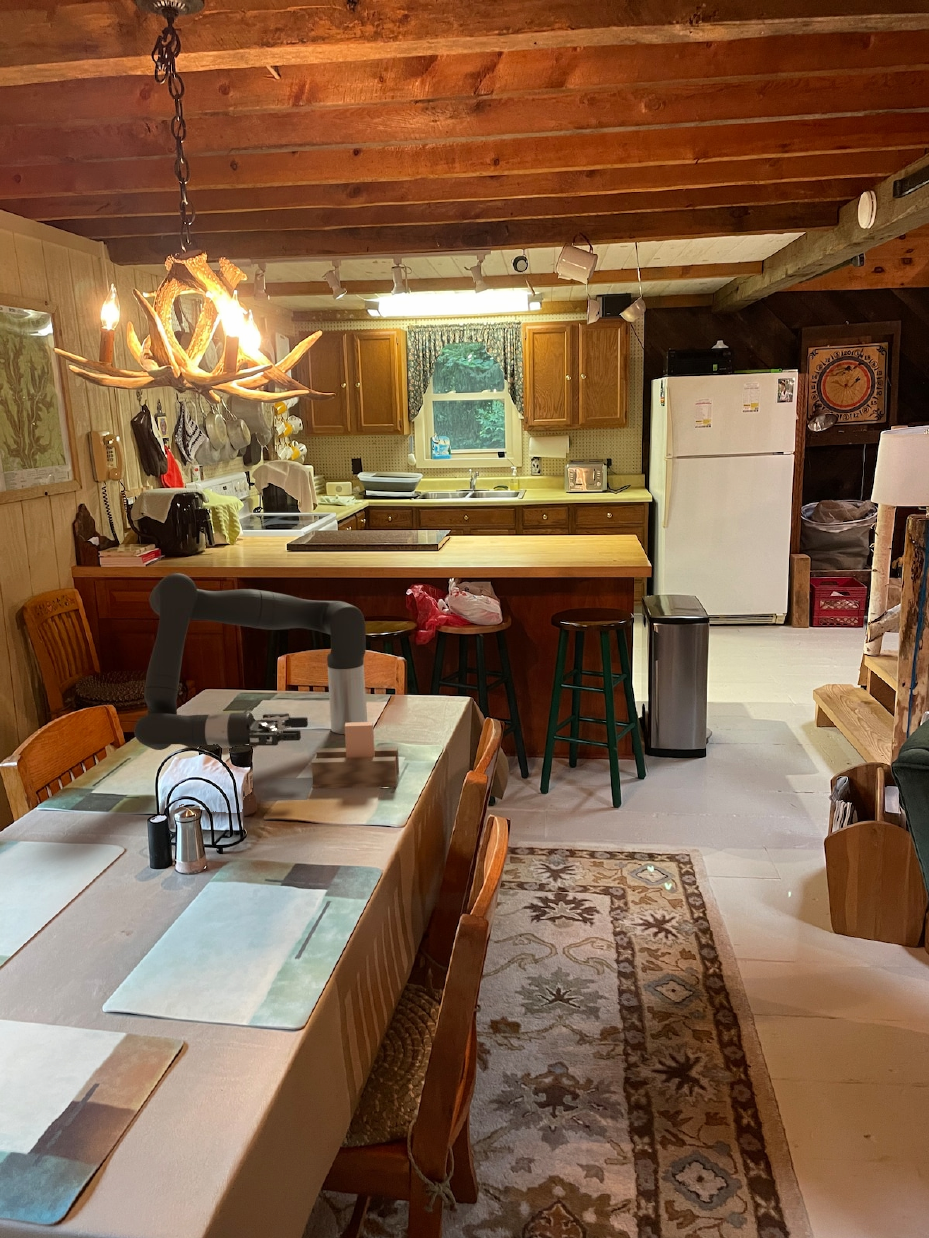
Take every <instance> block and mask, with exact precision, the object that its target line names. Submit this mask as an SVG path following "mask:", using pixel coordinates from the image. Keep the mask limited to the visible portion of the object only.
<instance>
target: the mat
mask: <svg viewBox="0 0 929 1238" xmlns="http://www.w3.org/2000/svg"><path fill="white" fill-rule="evenodd" d="M312 789H313V777H279V778H278V777H277V778H275V777H273V778H270V781H269V783H268V784H267V785H266V787H265V789H264V791H263V793H262V795H261V797H260V799H259V802H261V801H296V800H297V801H298V800H299V801H301V800H304V801H305V800H308V797H309V795H310V792H311V791H312Z"/></svg>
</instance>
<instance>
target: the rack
mask: <svg viewBox="0 0 929 1238" xmlns="http://www.w3.org/2000/svg"><path fill="white" fill-rule="evenodd" d="M374 750H375V757H359V758H346V747H335V748H334V747H333V748H332V747H331V748H330V747H329V748H328V747H327V748H317V750H316V753H315V755H316V758H313V759H312V761H311V775H312V777H313V786H312V789H343V788H347V789H349V788H350V789H351V788H380V787H396V788H397V786H396V784H397V785H398V781H397V780H399V776H398V774H399V775H400V764H399V763H400V761H399V747H398V746H374Z"/></svg>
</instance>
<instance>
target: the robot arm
mask: <svg viewBox="0 0 929 1238" xmlns="http://www.w3.org/2000/svg"><path fill="white" fill-rule="evenodd" d="M148 602H149V604H150V605H149V606H150V608H151V609H152V610H153V612H154V613H155V614H157V615H158V616H159V621H158V628H157V634H156V638H155V642H154V645H153V649H152V652H151V654H150V659H149V663H148V667H147V671H146V679H145V683H144V684H145V685H144V693H143V696H144V697H143V699H144V702H145V704H146V706H147V714H145V715H142V716H141V717H140V718H139V719H138V720H137V721H136V723H135V724H134V727H133V733H134V737H135V738H136V740H137V741H138V742H139V743H140V744H142V745H144V746H146V747H148V748H149V749H152V750H155V751H163V750H165V749H168V748H169V747H171V746H172V745H182V746H184V747H187V748H188V747H191V748H201V747H200V746H205V745H213V744H215V745H216V744H218V745H219V746H220V747H221V749H222V748H223V749H224V748H225V749H226V748H227V747H233V748H236V747H235V746H243V745H245V744H249V745H250V746H251V747H252V746H253V747H254V746H263V747H264V746H273V747H274V746H278V745H279V743H280V744H281V743H283V742H284V741H285V742H289V741H291V742H292V741H295V742H296V741H300V740H301V738H302V734H301V733H302V731H301V729H300V728H308V725H309V721H308V717H307V716H298V717H297V716H294V717H292V716H291V715H290V713H288V712H285V713H268V714H266V713H265V714H262V718H261V719H255V718H254V715H253V713H252V712H220V713H219V712H218V713H212V714H191V715H184V714H178V709H177V707H178V706H177V698H178V691H179V685H180V678H181V677H180V676H181V670H182V669H181V668H182V661H183V654H184V647H185V641H186V637H187V632H188V630H189V629H188V627H189V625H190V621H206V622H207V621H209V622H217V623H220V624H227V625H234V626H241V627H247V628H253V629H261V630H274V631H275V630H276V631H277V630H279V631H280V630H289V629H304V630H305V629H306V630H311V631H317V632H321V633H324V634H327V635H330V652H329V653H328V654H327V657H326V662H327V663H326V664H327V665H326V666H327V679H328V680H327V682H328V695H329V697H328V698H329V715H330V730H331V731H332V732H333V733H334V734H335V733H336V734H339V735H345V723H352V722H368V712H367V690H366V684H365V683H366V682H365V667H364V665H365V662H364V657H365V655H366V651H367V650H366V649H367V647H366V645H367V644H366V643H367V642H366V621H365V617H364V614H363V612H362V611H361V609H359V608H358V607H357V606H355V605H353V604H350V603H348V602H346V601H341V600H312V599H305V598H304V599H303V598H299V597H297V596H293V595H290V594H284V593H280V592H273V591H268V590H260V589H252V588H248V589H247V588H241V589H229V590H215V591H214V590H205V589H199V588H197V585H196V584H195V582H194V580H192V578H190V577H189V576H188V575H186V574H183V573H179V572H177V573H171V574H169V575H165V577H163V578H162V579H161V580H160V581H159V582H158V583H157V584H156V585H155V586H154V588H153V589H152V591H151V593H150V595H149V600H148ZM291 728H292V729H291ZM293 728H294V729H293ZM295 728H297V729H295ZM298 728H299V729H298Z"/></svg>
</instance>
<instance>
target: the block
mask: <svg viewBox="0 0 929 1238" xmlns="http://www.w3.org/2000/svg"><path fill="white" fill-rule="evenodd" d="M344 737H345V748H346V758H359V757H375V750H374V747H375V735H374V721H367V722H352V723H345V734H344Z"/></svg>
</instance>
